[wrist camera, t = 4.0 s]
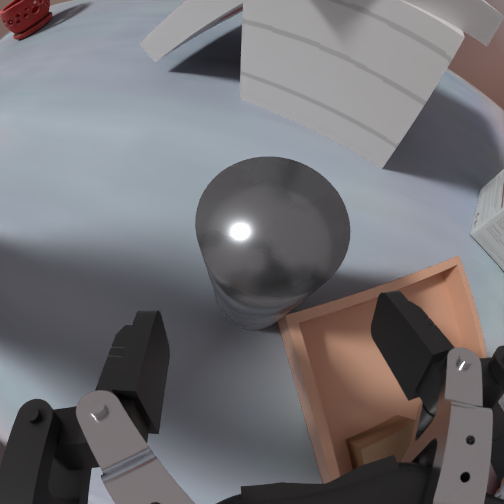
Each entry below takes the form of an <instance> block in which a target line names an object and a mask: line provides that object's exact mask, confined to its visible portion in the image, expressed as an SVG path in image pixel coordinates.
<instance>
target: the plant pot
mask: <svg viewBox="0 0 504 504" xmlns="http://www.w3.org/2000/svg"><path fill="white" fill-rule="evenodd" d="M34 1H35V0H14V1H13V2H11V3H10V4H9V5H7V6H6V7H5V8H4V9H3V10H2V11H1V12H0V15H1V18H2V20H3V22H4V24H5V25H6V27H7V28H8V29H9V30H10V31H11V32H13V33H15V34H14V36H13V38H14V39H22V38H25V37H27V36H29V35H31V34H32V33H34V32H36V31H37V30H39V29H40V28H41V27H43V26H44V25H45V24H46V23H47V22H49V20H50V19H51V17H52V12H49V7H50V0H36V3H35V4H34V3H33V2H34ZM27 9H28V10H27ZM10 21H11V23H10Z"/></svg>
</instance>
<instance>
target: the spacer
mask: <svg viewBox="0 0 504 504" xmlns="http://www.w3.org/2000/svg"><path fill="white" fill-rule="evenodd" d="M195 227H196V235H197V239H198V243H199V246H200V249H201V252H202V255H203V258H204V261H205V264H206V267H207V270H208V273H209V276H210V279H211V282H212V285H213V288H214V291H215V294H216V297H217V300H218V303H219V305H220V308H221V310H222V312H223V314H224V315H225V317H226V318H227V319H228V320H229V321H230V322H231V323H233V324H234V325H236V326H238V327H240V328H243V329H247V330H260V329H264V328H267V327H269V326H271V325H273V324H274V323H276V322H277V321H278V320H280V319H281V318H282V317H283V316H285V315H286V314H287V313H288V312H290V311H291V310H292V309H293V308H295V307H296V306H297V305H298V304H300V303H301V302H302V301H303V300H304V299H306V298H307V297H308V296H309V295H311V294H312V293H313V292H314V291H315V290H317V289H318V288H319V287H320V286H321V285H322V284H324V283H325V282H326V281H327V280H328V279H329V278H330V277H331V276H332V275H333V274H334V273H335V272H336V271H337V269H338V268H339V267H340V265H341V263H342V261H343V260H344V258H345V255H346V252H347V250H348V245H349V241H350V222H349V217H348V213H347V210H346V207H345V205H344V203H343V201H342V199H341V197H340V195H339V194H338V192H337V191H336V189H335V188H334V187H333V186H332V185H331V183H330V182H329V181H328V180H327V179H325V178H324V177H323V176H322V175H321V174H319V173H318V172H317V171H315V170H313V169H312V168H310V167H308V166H306V165H304V164H302V163H300V162H297V161H294V160H290V159H286V158H280V157H257V158H251V159H247V160H244V161H241V162H238V163H236V164H234V165H232V166H230V167H228V168H226V169H225V170H223V171H222V172H221V173H219V174H218V175H217V176H216V177H215V178H214V179H213V180H212V181H211V182H210V183H209V185H208V186H207V188H206V189H205V191H204V192H203V194H202V196H201V198H200V201H199V204H198V207H197V212H196V224H195Z"/></svg>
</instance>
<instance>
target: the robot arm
mask: <svg viewBox="0 0 504 504" xmlns="http://www.w3.org/2000/svg"><path fill="white" fill-rule="evenodd" d="M371 336H372V339H373V341H374V342H375V344H376V346H377V347H378V349H379V351H380V352H381V354H382V356H383V357H384V359H385V361H386V363H387V364H388V366H389V368H390V369H391V371H392V373H393V375H394V376H395V378H396V380H397V382H398V383H399V385H400V387H401V389H402V390H403V392H404V394H405V396H406V398H407V399H408V401H410V400H413V399H415V398H418V397H420V399H421V400H422V401H421V403H420V404H419V407H418V411H417V416H416V421H415V425H414V429H413V433H412V437H411V441H410V444H409V447H408V449H407V451H406V453H405V455H404V457H403V459H402V461H401V462H397V461H396V458H395V456H394V455H391V456H389V457H386V458H383V459H380V460H377V461H374V462H371V463H368V464H364V465H361V466H359V467H357V468H356V469H354V470H352V471H350V472H348V473H346V474H344V475H342V476H341V477H339V478H337V479H335V480H332V481H330V482H328V483H325V484H300V483H283V482H282V483H274V484H265V485H255V486H241V494H239V495H235V496H232V497H230V498H227V499H224V500H222V501H220V502H218V503H216V504H504V411H503V410H502V408H501V407H500V405H499V403H498V400H499V399H500V398H501V396H502V395H503V394H504V346H500V347H498V348H497V349H496V351H495V353H494V355H493V356H492V358H479V357H478V356H477V355H476V354H475V353H474V352H473V351H471V350H469V349H467V348H463V347H457V348H455V347H454V346H453V345H452V344H451V342H450V341H449V340H448V339H447V338H446V336H445V335H444V334H443V333H442V332H441V330H440V329H439V328H438V327H437V326H436V325H434V322H433V321H432V320H431V319H430V318H428V315H427V314H426V313H425V312H424V311H423V309H422V308H421V307H419V306H417V305H416V304H414V303H413V302H411V301H408V299H407V298H406V297H405V296H404V295H403V294H402V293H401V292H400V291H391V292H383V293H380V294H379V296H378V299H377V303H376V308H375V312H374V315H373V319H372V323H371ZM169 355H170V354H169V344H168V340H167V336H166V332H165V328H164V325H163V321H162V317H161V313H160V312H159V311H138V312H137V314H136V317H135V320H134V322H133V325H125V326H124V327H123V328H122V329H121V330H120V331H119V332H118V333H117V335H116V337H115V339H114V342H113V344H112V348H111V349H110V352H109V357H107V360H106V363H105V365H104V368H103V371H102V374H101V376H100V379H99V382H98V385H97V388H96V390H95V391H93V392H90V393H88V394H87V395H85V396H84V397H83V398H82V399H81V400H80V401H79V403H78V405H77V406H76V407H70V408H63V409H55V410H53V409H52V407H51V406H50V405H49V404H48V403H47V402H46V401H44V400H41V399H33V400H30V401H28V402H26V403H25V404H24V405H23V406H22V407H21V408H20V410H19V412H18V414H17V416H16V419H15V422H14V425H13V428H12V430H11V433H10V436H9V439H8V443H7V446H6V449H5V452H4V456H3V459H2V463H1V467H0V504H88V493H89V484H90V476H91V469H92V468H95V467H100V468H101V470H102V472H103V475H101V478H102V481H103V483H104V485H105V487H106V489H107V491H108V492H109V494H110V496H111V497H112V499H113V501H114V502H115V504H195V503H194V502H193V501H192V500H191V499H190V497H189V496H188V495H187V494H186V493H185V492H184V491H183V489H182V488H181V487H180V486H179V485H178V484H177V482H176V481H175V480H174V479H173V478H172V476H171V475H170V474H169V473H168V471H167V470H166V469H165V468H164V466H163V465H162V464H161V462H160V461H159V460H158V458H157V457H156V456H155V454H154V453H153V452H152V450H151V449H150V448H149V446H148V445H147V439H148V433H151V434H159V428H160V419H161V412H162V404H163V397H164V390H165V383H166V377H167V370H168V364H169ZM490 462H491V464H492V466H493V468H494V470H495V473H496V475H497V477H498V480H499V482H500V484H501V487H500V488H499V489H498V490H497V491H496V493H495V496H493V495H490V494H488V493H486V490H487V483H488V477H489V469H490Z"/></svg>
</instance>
